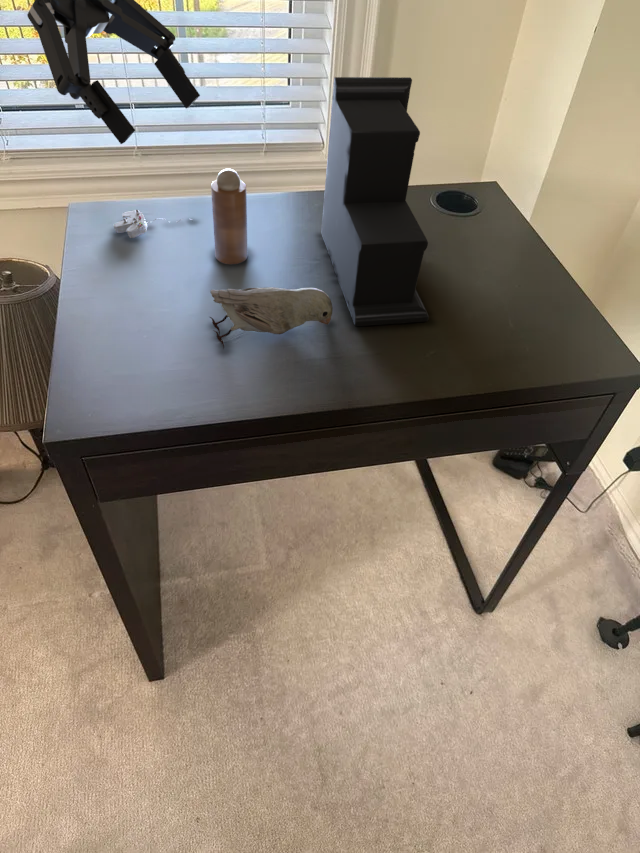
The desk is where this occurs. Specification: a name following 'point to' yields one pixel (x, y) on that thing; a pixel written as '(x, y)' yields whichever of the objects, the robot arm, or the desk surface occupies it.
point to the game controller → (132, 224)
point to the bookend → (373, 201)
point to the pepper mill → (229, 217)
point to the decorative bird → (272, 308)
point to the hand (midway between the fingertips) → (162, 119)
